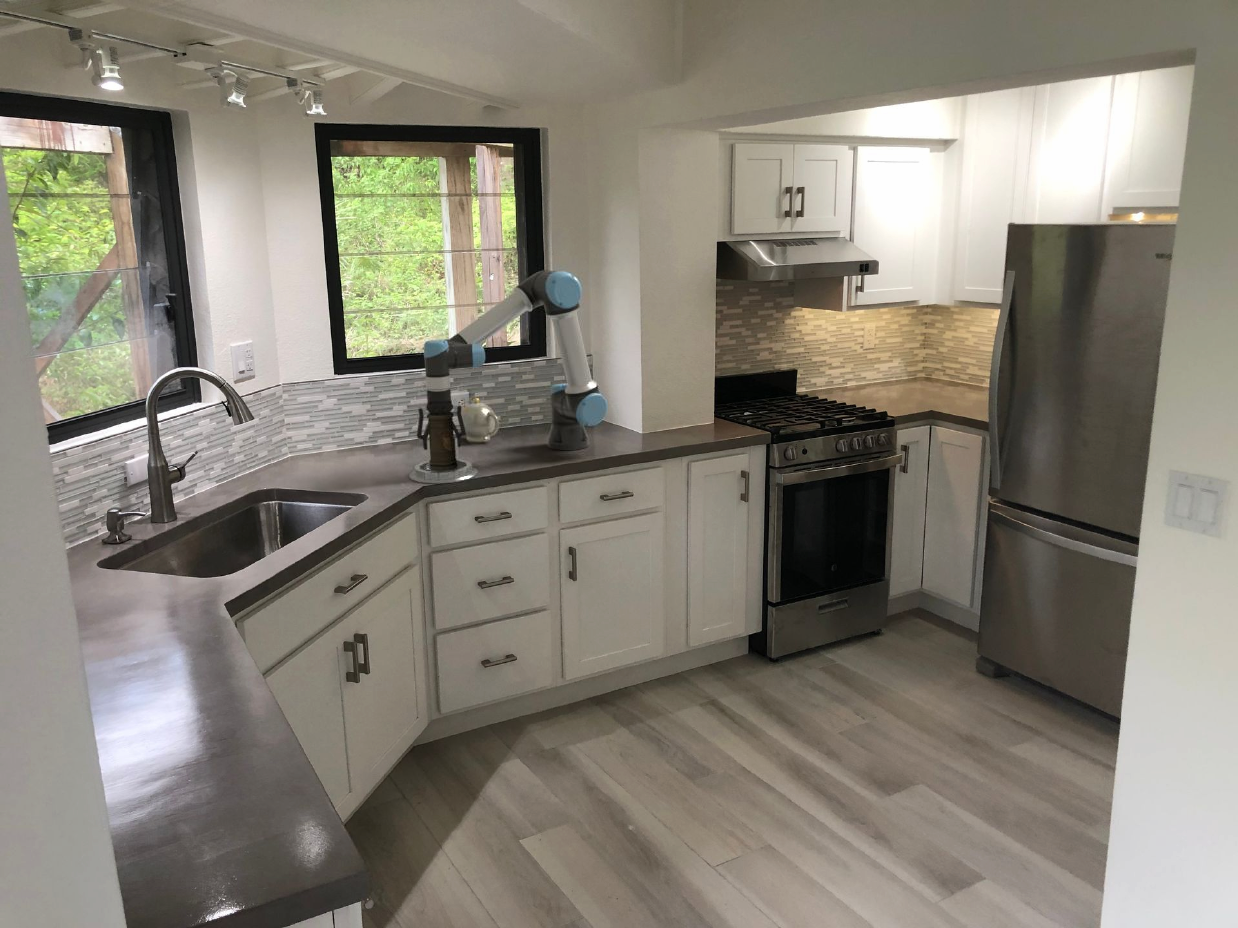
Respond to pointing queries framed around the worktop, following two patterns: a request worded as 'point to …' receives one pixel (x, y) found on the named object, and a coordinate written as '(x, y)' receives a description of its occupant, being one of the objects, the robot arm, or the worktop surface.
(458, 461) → the flange
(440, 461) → the container
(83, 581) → the worktop surface
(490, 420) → the teapot
